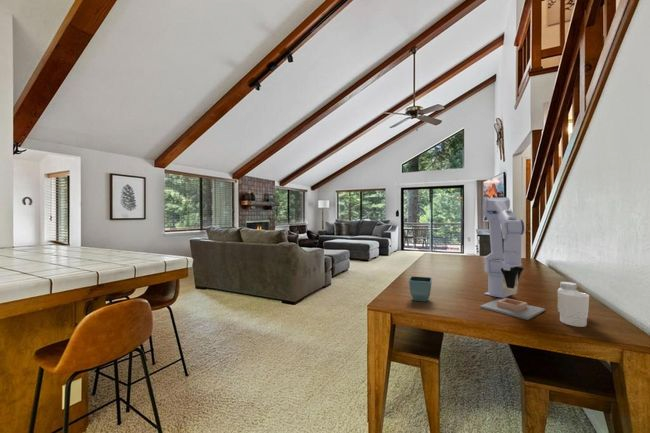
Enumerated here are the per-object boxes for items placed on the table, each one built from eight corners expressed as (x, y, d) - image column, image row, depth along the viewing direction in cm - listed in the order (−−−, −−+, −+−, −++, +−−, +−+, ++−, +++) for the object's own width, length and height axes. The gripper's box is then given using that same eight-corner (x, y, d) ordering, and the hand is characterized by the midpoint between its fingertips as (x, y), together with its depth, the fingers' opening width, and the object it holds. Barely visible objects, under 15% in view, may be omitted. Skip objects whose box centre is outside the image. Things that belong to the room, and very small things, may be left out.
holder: (498, 300, 122) (499, 293, 122) (544, 310, 109) (544, 303, 109) (480, 307, 112) (480, 300, 112) (527, 319, 99) (527, 311, 99)
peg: (506, 290, 114) (506, 272, 114) (518, 292, 111) (517, 274, 111) (503, 292, 111) (502, 274, 111) (515, 294, 108) (514, 275, 108)
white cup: (551, 319, 100) (552, 290, 100) (572, 318, 101) (573, 289, 101) (573, 328, 92) (573, 297, 92) (595, 327, 93) (596, 296, 93)
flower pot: (408, 301, 120) (408, 280, 120) (410, 296, 128) (410, 275, 128) (431, 304, 117) (431, 282, 117) (431, 298, 125) (431, 277, 125)
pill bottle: (583, 316, 103) (583, 285, 103) (563, 315, 104) (564, 284, 104) (572, 310, 109) (572, 281, 109) (553, 309, 110) (554, 280, 110)
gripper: (506, 248, 118) (506, 281, 118) (494, 251, 108) (494, 288, 109) (526, 250, 113) (526, 285, 113) (516, 253, 103) (516, 291, 103)
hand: (512, 286), depth 111 cm, fingers closed on peg, 4 cm apart
